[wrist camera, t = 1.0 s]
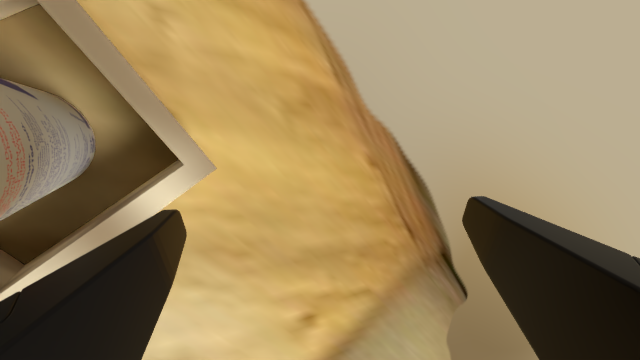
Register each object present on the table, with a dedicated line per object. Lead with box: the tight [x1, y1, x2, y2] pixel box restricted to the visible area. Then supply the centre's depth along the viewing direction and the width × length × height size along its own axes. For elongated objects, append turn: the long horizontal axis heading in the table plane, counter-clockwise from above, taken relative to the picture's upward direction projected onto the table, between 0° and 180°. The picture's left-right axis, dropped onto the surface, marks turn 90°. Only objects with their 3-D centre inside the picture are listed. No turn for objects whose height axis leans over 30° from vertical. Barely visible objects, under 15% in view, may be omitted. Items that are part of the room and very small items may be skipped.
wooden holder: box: [0, 0, 217, 301], centre depth 13 cm, size 12×12×4 cm
